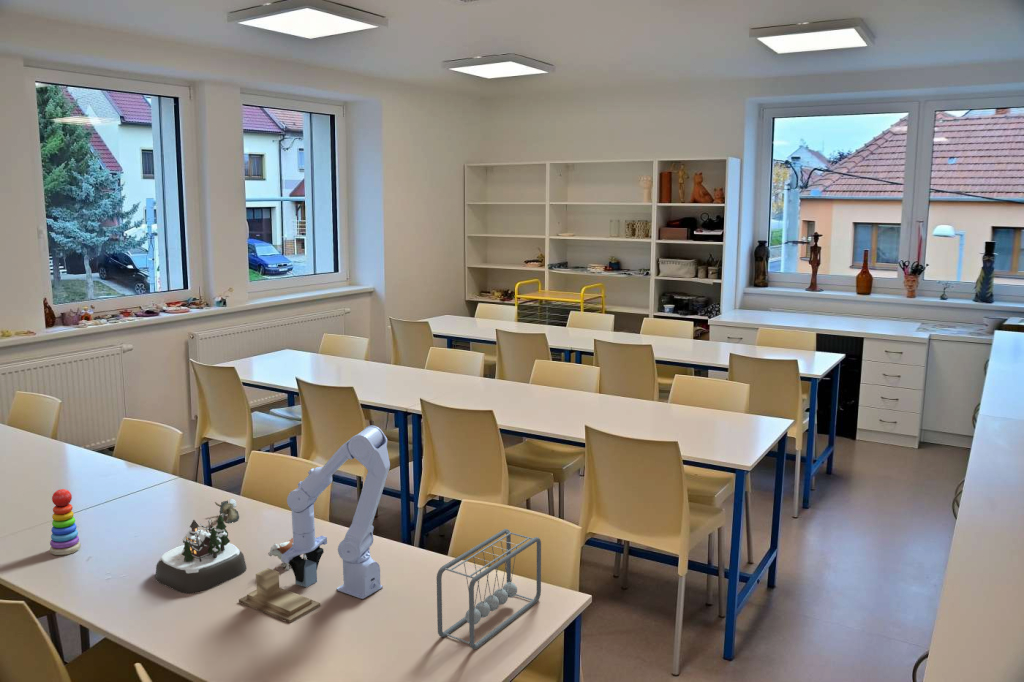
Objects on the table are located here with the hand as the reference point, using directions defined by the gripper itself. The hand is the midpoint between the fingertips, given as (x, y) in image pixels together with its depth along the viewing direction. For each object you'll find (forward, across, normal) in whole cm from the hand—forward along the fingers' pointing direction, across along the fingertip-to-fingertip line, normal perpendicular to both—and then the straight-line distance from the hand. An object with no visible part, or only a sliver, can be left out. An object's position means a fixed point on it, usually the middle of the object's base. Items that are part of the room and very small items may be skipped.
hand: (306, 577), depth 219 cm
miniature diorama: (+2, +12, -29) cm, 31 cm away
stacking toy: (+2, +24, -75) cm, 79 cm away
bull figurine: (+2, -5, -12) cm, 13 cm away
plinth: (+1, +12, +3) cm, 12 cm away
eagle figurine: (+2, -18, -55) cm, 58 cm away
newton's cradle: (+2, -11, +53) cm, 54 cm away
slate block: (+1, 0, 0) cm, 1 cm away
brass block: (-1, +12, -1) cm, 12 cm away
